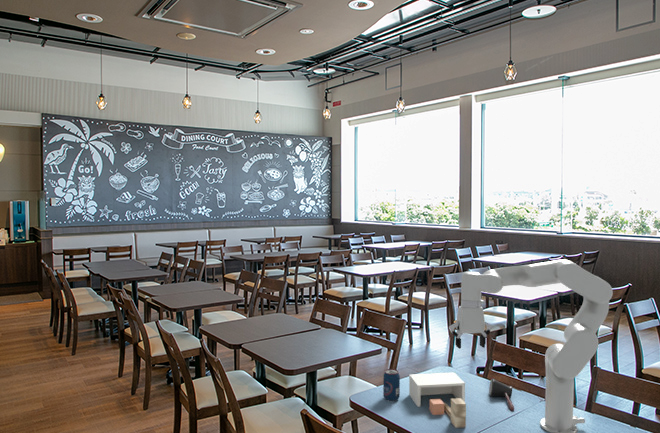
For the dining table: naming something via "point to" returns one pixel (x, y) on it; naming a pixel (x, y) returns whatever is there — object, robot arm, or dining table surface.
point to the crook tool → (457, 412)
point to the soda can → (391, 385)
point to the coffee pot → (501, 391)
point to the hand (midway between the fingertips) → (470, 347)
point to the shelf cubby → (435, 385)
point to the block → (436, 406)
